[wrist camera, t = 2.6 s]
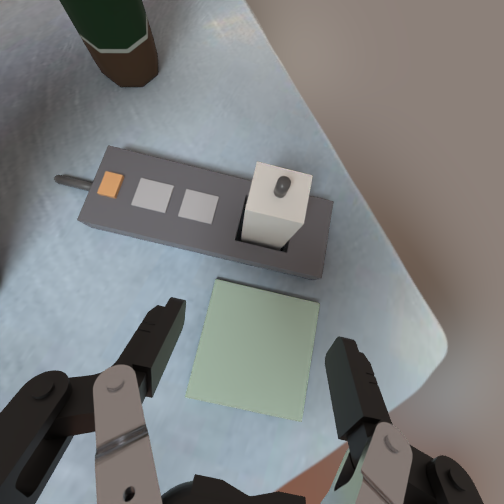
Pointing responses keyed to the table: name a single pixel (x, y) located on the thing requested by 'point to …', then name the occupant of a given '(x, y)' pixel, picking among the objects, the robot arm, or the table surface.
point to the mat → (255, 351)
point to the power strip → (193, 212)
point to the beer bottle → (116, 38)
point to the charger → (275, 206)
